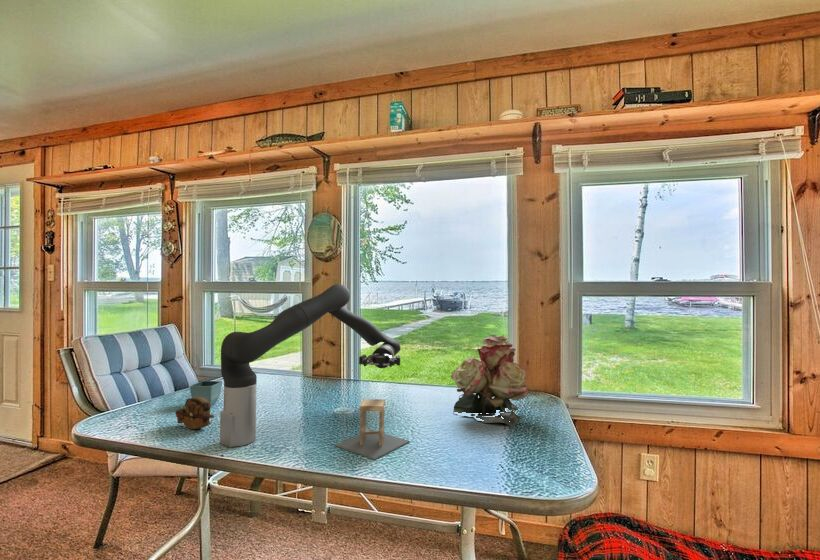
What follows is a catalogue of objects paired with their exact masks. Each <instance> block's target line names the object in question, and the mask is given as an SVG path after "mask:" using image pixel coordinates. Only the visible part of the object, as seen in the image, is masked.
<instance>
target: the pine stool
mask: <svg viewBox="0 0 820 560" xmlns="http://www.w3.org/2000/svg"><path fill="white" fill-rule="evenodd" d="M385 406H386V399H379V398H378V399H376V398H364V399H362V401H361V402H360V404H359V407H358V409H359V412H360V417H359V418H360V421H359V422H360V423H359V424H360V425H359V426H360V427H359V428H360V430H359V431H360V432H359V434H360V446H363V445H364V443H365V440H366V434H373V435H379V447H382V445H383V441H384V434H385ZM367 412H378V416H379V417H378V420H379V421H378V422H379V423H378V425H379V426H378V430H374V431H369V430H367Z"/></svg>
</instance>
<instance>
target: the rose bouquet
mask: <svg viewBox="0 0 820 560" xmlns="http://www.w3.org/2000/svg"><path fill="white" fill-rule="evenodd" d="M508 340H509V337H508V336H505V335H504V334H501V335H500V336H498V335H497V334H488V337H485V338H483V339H482V344H483V346H481V348H477V349H476V350H477V352H478V355H479V359H477V358H475V357H472V356H469V357H467V358H466V359H465V360H462V361H463V362H461V364H460V365H459V366H457V367H456V369H455V370H453V372H452V373H451V375H450V378H451V379H452V380H453V381H454V382H455V385H456V387H457V389H456V392H458V393H461V392H462V393H463V394H460V395H459V396H458V400H457V401H456V402H455V404H454V405H453V413H454V412H458V413H462V412H466V413H482V414H486V413H496V410H501V409H502V412H503V411H504V413H500V415H498V416H495V417H482V416H476V418H480V419H482V420H484V421H483V422H481V423H484V424H490V423H491V424H492V423H502V424H505V425H507V426H509V427H512V426H515V425H517V424H518V422H519V419H520V418H523V417H525V415H523V414H521V415H522V416H521V415H519V414H518V415H516V414H515V413H514V412H513V411H516V410H519V409H518V408H519V407H518V406H517V405H516V404H513V403H512V401H520V400H521V399H523V398H526V397H528V395H529V391H530V390H529V387H527V385H526V381H525V377H526V370H524V369H523V368H522V366H521V365H520V364H519V363H516V362H514V361H515V360H514V357H515V355H516V354H515V352H516V348H514V347H513V344H512V343H510V342H508ZM511 400H512V401H511ZM505 408H508V409H509V410H512V411H511V412H506V411H505ZM520 411H521V410H520ZM521 412H522V411H521ZM501 416H502V417H503V418H504V419H502V418H501ZM509 421H510V422H509Z"/></svg>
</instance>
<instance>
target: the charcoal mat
mask: <svg viewBox="0 0 820 560" xmlns="http://www.w3.org/2000/svg"><path fill="white" fill-rule="evenodd" d="M368 431H375V430H373V429H370V430H368ZM410 442H411V441H410V440H408V439H404V438H401V437H398V436H395V435H390V434H388V433H384V441H383V445H382V447H379V435H373V434H366V440H365V443H364V445H363V446H360V433H359V434H357V435H354V436H352V437H349V438H347V439H344V440H343V441H341V442H338V443H336V444H334V447H335V448H339V449H341V450H345V451H347V452H350V453H353V454H356V455H359V456H362V457H363V458H364V457H365V458H367V459H371V460H373V461H377V459H379V458H381V457H384V456H386V455H388V454H389V453H391V452H393V451H395V450H397V449H399V448H402V447H403V446H406V445H407V444H409V443H410Z"/></svg>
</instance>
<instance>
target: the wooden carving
mask: <svg viewBox="0 0 820 560" xmlns="http://www.w3.org/2000/svg"><path fill="white" fill-rule="evenodd" d="M184 406H185V407H184V408H181V409H177V410H175V418H177V424H183V425H184V426H185V427H186V428H188V429H191V430H195V429H203V428H205V427H209V426H210V425H211V423H212V422H211V421H210V419H214V418H215V415H214V414H211V407H212V406H211V403H210V402H208V401H207V400H205V399H204V398H202V397H197V398H192V397H190V398H187V399H186V401H185V403H184Z"/></svg>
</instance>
